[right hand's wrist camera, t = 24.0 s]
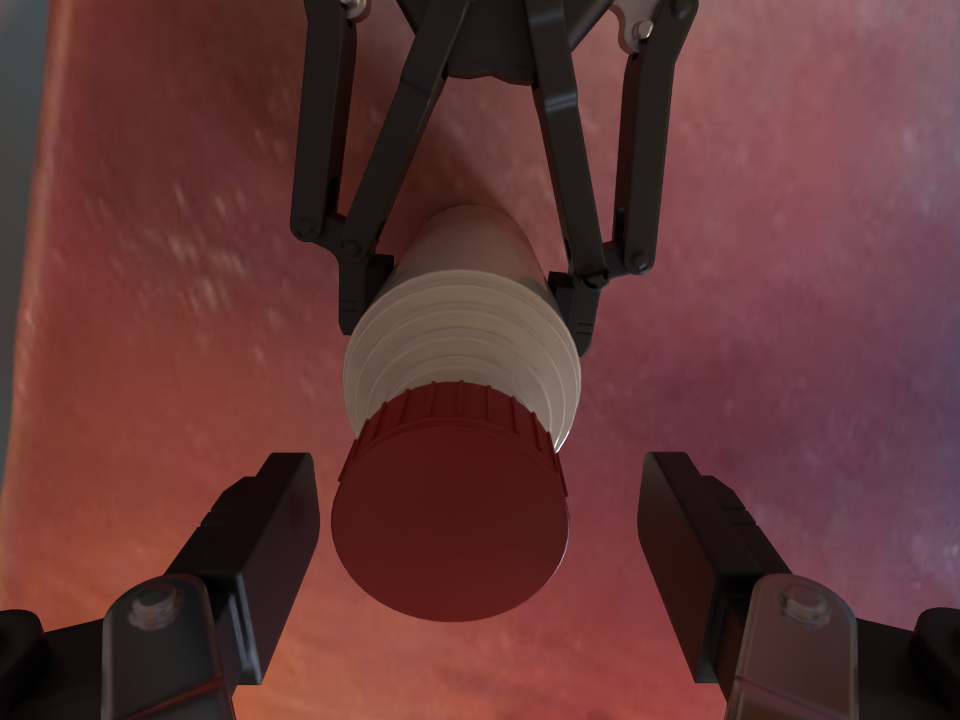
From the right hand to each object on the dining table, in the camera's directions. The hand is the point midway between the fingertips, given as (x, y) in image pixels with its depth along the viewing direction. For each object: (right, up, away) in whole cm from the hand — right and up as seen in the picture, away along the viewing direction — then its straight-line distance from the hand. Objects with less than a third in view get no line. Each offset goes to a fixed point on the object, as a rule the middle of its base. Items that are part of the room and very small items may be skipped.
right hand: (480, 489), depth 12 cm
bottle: (0, +7, +18) cm, 20 cm away
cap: (0, 0, -1) cm, 1 cm away
